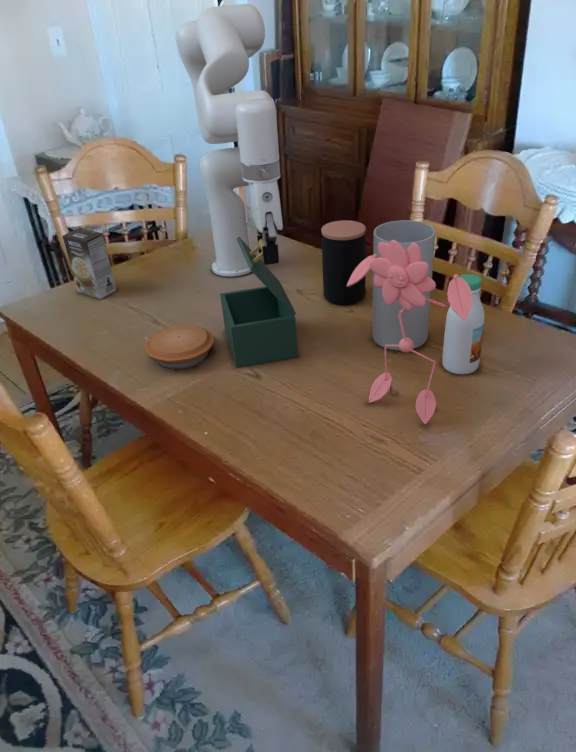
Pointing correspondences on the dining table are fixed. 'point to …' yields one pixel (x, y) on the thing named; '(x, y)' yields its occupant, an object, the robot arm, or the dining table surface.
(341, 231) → the coffee jar
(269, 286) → the bread bin lid
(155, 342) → the pie
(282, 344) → the bread bin
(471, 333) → the milk bottle
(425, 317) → the cylinder vase
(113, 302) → the dining table surface
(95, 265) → the coffee box
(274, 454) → the dining table surface
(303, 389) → the dining table surface
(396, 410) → the dining table surface
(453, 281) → the figurine
